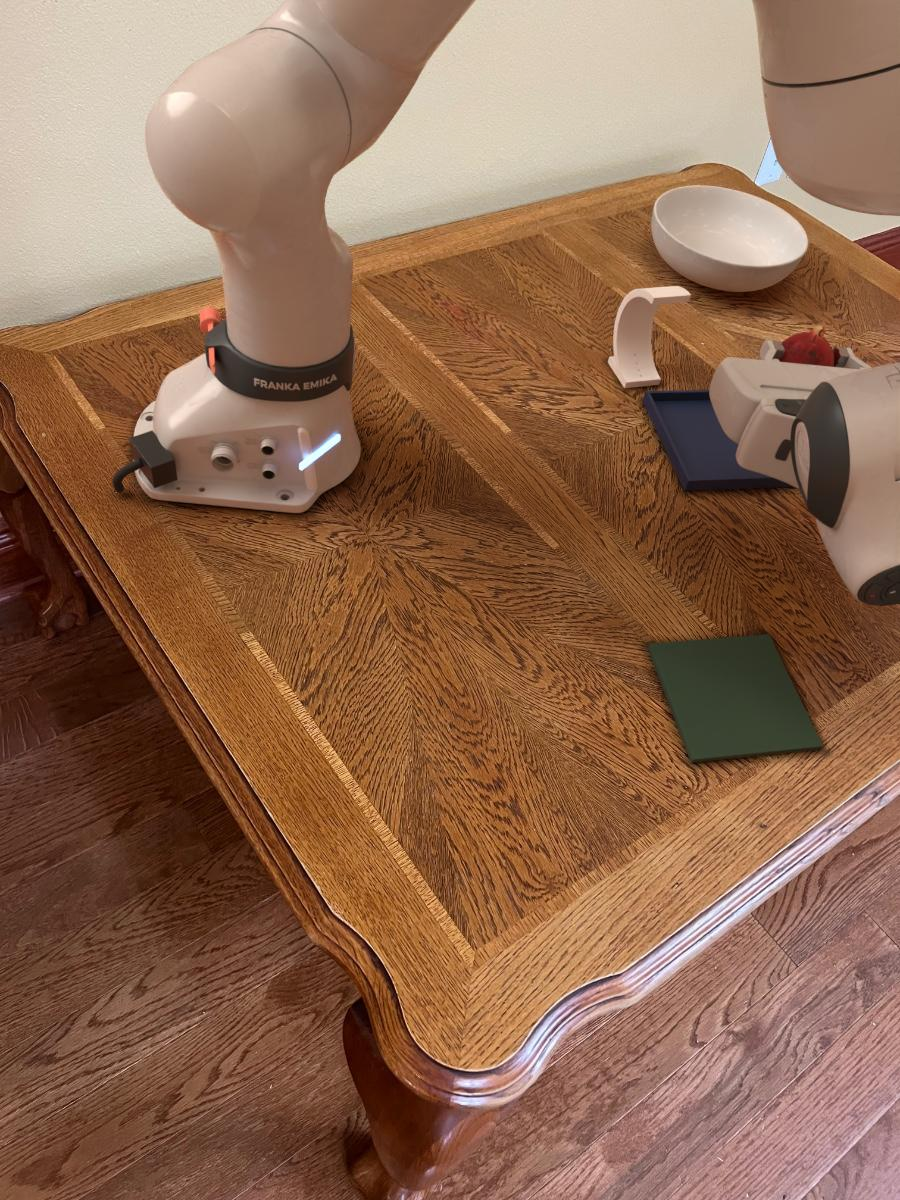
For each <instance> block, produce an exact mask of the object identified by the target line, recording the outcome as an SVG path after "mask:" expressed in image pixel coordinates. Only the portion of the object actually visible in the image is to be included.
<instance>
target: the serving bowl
mask: <svg viewBox="0 0 900 1200" xmlns="http://www.w3.org/2000/svg"><path fill="white" fill-rule="evenodd" d="M652 208H653V209H652V213H651V228H650V229H651V236H652V240H653V243H654V246H655V248H656V250H657V252H658V254H659V255H660V257H661V258H662V260H663V261H664V262H665V263H666V264H667V265H668V266H669V267H670V268H671V269H672V270H673V271H675V272H676V273H678V274H679V275H680V276H682V277H683V278H686V279H687V280H689V281H691V282H693V283H696V284H697V285H699V286H700V285H701V286H704V287H707V288H709V289H714V290H719V291H724V292H734V293H745V292H747V293H748V292H755V291H759V290H760V291H761V290H764V289H766V288H769V287H772V286H775V285H776V284H778V283H780V282H781V281H783V280H785V279H786V278H787V277H789V275H791V274H792V272H793V271H794V270H796V268H797V267H798V266H799V264H800V263H801V261H802V260H803V258H804V257H805V255H806V253H807V252H808V248H809V237H808V234H807V232H806V231H805V228H804V227H803V226H802V224H801V223H800V222H799V221H798V220H797V219H796V217H794V216H793V215H792V214H790V212H787V211H786V210H785V209H783V208H781V207H779V206H778V205H776V204H774V203H772V202H770V201H768V200H767V199H764V198H762V197H759V196H757V195H754V194H752V193H748V192H746V191H745V192H744V191H741V190H737V189H734V188H728V187H722V186H714V185H707V184H706V185H703V184H698V185H697V184H695V185H694V184H691V185H684V186H679V187H674V188H672V189H669V190H667V191H665V192H663V193H662V194H661V195H660V196H658V197H657V199H656V200H655V202H654V205H653V207H652Z"/></svg>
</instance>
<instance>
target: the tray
mask: <svg viewBox="0 0 900 1200" xmlns="http://www.w3.org/2000/svg"><path fill="white" fill-rule="evenodd" d="M642 403H643V406H644V408H645V410H646V412H647V414H648V416H649V419H650V421H651V422H652V423H651V424H652V425H653V427H654V429H655V432H656V434H657V435H658V438H659V440H660V442H661V443H662V446H663V449H664V450H665V453H666V455H667V457H668V459H669V461H670V464H671V466H672V468H673V469H674V472H675V474H676V476H677V478H678V480H679V483H680V485H681V487H682V489H683V492H692V491H693V492H694V491H695V492H697V491H717V490H721V491H722V490H746V489H747V490H748V489H771V488H794V487H793V486H791V485H789V484H787V483H785V482H783V481H781V480H778V479H775V478H773V477H770V476H767V475H764V474H761V473H757V472H754V471H751V470H747V469H745V468H743V467H741V466H740V465H739V464H738V462H737V460H736V451H737V448H738V445H739V444H737V443H735V442H734V441H732V440H731V439H730V438H729V437H728V436H727V435H726V434H725V432H724V431H723V429H722V427H721V425H720V423H719V421H718V419H717V416H716V414H715V411H714V408H713V406H712V403H711V400H710V396H709V389H683V390H682V389H680V390H679V389H674V390H670V389H669V390H645V393H644V396H643V398H642Z"/></svg>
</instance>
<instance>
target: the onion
mask: <svg viewBox="0 0 900 1200" xmlns="http://www.w3.org/2000/svg"><path fill="white" fill-rule="evenodd" d="M826 331H827V330H826V329H825V327H824V326H823V325H822V324H820V325H814V327H813V328H812V329H811V330H810V331H806V332H799V333H795V334H792V335H790V336H789V337H787V338H786V339H784V340H783V341H781V342H782V345H783V346H784V349H785V352H784V354H783V356H782V357H781V358H780V362H788V363H798V364H808V365H819V366H829V367H834V354H833V348H832V345H831V344H830V343H829V341H828V339H826V338H825V336H824V334H825V333H826Z"/></svg>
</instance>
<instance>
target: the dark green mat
mask: <svg viewBox="0 0 900 1200" xmlns="http://www.w3.org/2000/svg"><path fill="white" fill-rule="evenodd" d="M646 648H647V651H648V653H649V656H650V658H651V661H652V663H653V666H654V670H655V672H656V674H657V677H658V679H659V680H658V681H659V682H660V685H661V688H662V690H663V693H664V695H665V698H666V701H667V703H668V706H669V709H670V711H671V714H672V717H673V719H674V722H675V724H676V727H677V730H678V733H679V735H680V738H681V741H682V743H683V745H684V749H685V751H686V754H687V756H688V759H689V761H690V764H694V763H695V764H696V763H704V762H715V761H724V760H733V759H742V758H743V759H745V758H751V757H753V758H754V757H762V756H771V755H780V754H792V753H801V752H811V751H819V750H821V749H822V748H823V747H824V745H823V744H822V741H821V739H820V737H819V735H818V733H817V730H816V729H815V727H814V724H813V722H812V720H811V718H810V716H809V714H808V712H807V710H806V708H805V706H804V704H803V701H802V700H801V697H800V695H799V694H798V691H797V689H796V687H795V685H794V683H793V681H792V679H791V677H790V674H789V673H788V671H787V668H786V666H785V664H784V662H783V660H782V658H781V656H780V653H779V652H778V650H777V647H776V645H775V644H774V641H773V639H772V637H771V635H770V634H769V633H768V634H756V635H744V636H743V635H742V636H730V637H716V638H715V637H714V638H703V639H702V638H701V639H691V640H690V639H689V640H688V639H687V640H676V641H664V642H663V641H662V642H649V643H648V645H647V647H646Z"/></svg>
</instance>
